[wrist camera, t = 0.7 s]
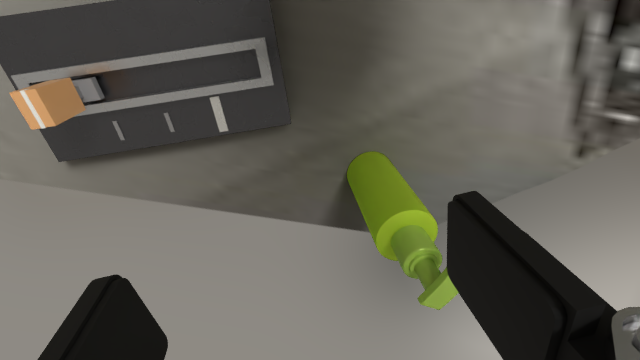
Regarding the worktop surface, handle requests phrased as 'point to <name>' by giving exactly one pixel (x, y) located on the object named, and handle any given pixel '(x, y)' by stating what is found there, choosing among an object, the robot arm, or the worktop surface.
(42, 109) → the fader knob
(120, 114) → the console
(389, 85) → the worktop surface
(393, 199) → the soap dispenser
